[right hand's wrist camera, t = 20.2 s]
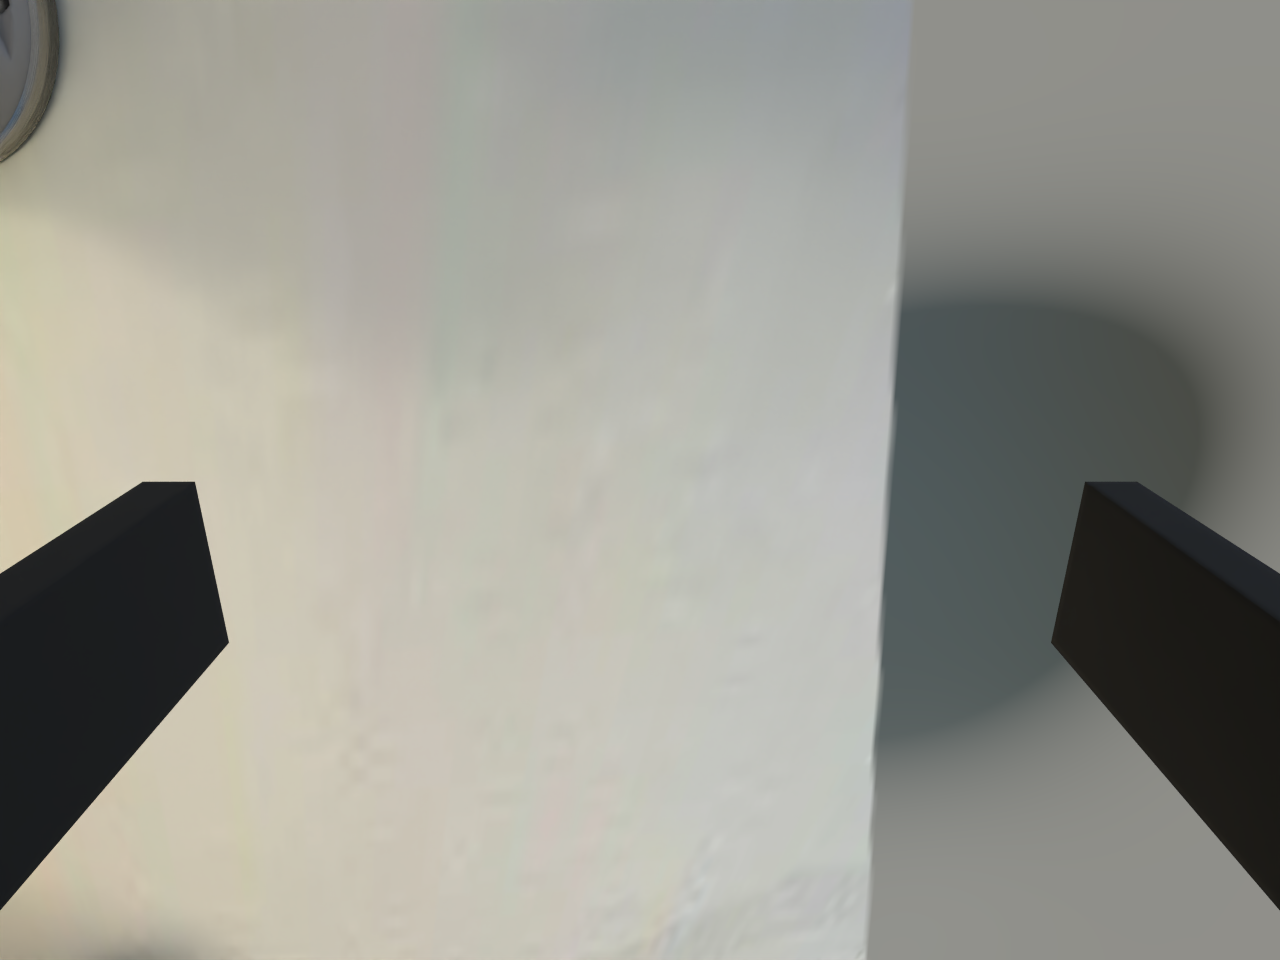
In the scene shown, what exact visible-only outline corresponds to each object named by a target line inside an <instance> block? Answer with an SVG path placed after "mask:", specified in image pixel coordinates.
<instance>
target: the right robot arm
mask: <svg viewBox="0 0 1280 960" xmlns="http://www.w3.org/2000/svg"><path fill="white" fill-rule="evenodd" d="M58 54H59V27H58V18H57V9H56V4H55V0H0V161H2V160H4V159H5V158H6V157H8V156H9V155H10V154H11V153H13V152H14V151H15V150H16V149H17V148H18V147H19V146H20V145H21V144H22V143H23V142H24V141H25V140H26V139H27V138H28V137H29V135H30V134H31V133H32V131H33V130H34V129H35V127H36V126H37V124H38V122H39V120H40V119H41V117H42V115H43V113H44V111H45V109H46V106H47V104H48V102H49V99H50V96H51V93H52V89H53V86H54V83H55V77H56V71H57V66H58ZM228 643H229V641H228V636H227V631H226V627H225V622H224V617H223V612H222V608H221V603H220V598H219V594H218V589H217V584H216V579H215V575H214V570H213V565H212V560H211V556H210V551H209V546H208V542H207V537H206V532H205V527H204V523H203V518H202V513H201V509H200V504H199V499H198V494H197V490H196V485H195V482H142V483H140V484H139V485H137V486H136V487H134V488H133V489H131V490H129V491H128V492H126V493H125V494H123V495H122V496H120V497H119V498H117V499H115V500H114V501H112V502H111V503H109V504H108V505H106V506H105V507H103V508H102V509H100V510H98V511H97V512H95V513H94V514H92V515H91V516H89V517H88V518H86V519H84V520H83V521H81V522H80V523H78V524H77V525H75V526H74V527H72V528H70V529H69V530H67V531H66V532H64V533H63V534H61V535H60V536H58V537H57V538H55V539H53V540H52V541H50V542H49V543H47V544H46V545H44V546H43V547H41V548H39V549H38V550H36V551H35V552H33V553H32V554H30V555H29V556H27V557H25V558H24V559H22V560H21V561H19V562H18V563H16V564H15V565H13V566H12V567H10V568H8V569H7V570H5V571H4V572H2V573H1V574H0V910H1V909H2V908H3V906H4V905H5V904H6V903H7V902H8V901H9V899H10V898H11V897H12V896H13V895H14V894H15V892H16V891H17V890H18V889H19V888H20V887H21V885H22V884H23V883H24V882H25V881H26V880H27V878H28V877H29V876H30V875H31V874H32V873H33V871H34V870H35V869H36V868H37V867H38V865H39V864H40V863H41V862H42V861H43V860H44V858H45V857H46V856H47V855H48V854H49V853H50V851H51V850H52V849H53V848H54V847H55V846H56V844H57V843H58V842H59V841H60V840H61V839H62V837H63V836H64V835H65V834H66V833H67V832H68V830H69V829H70V828H71V827H72V826H73V825H74V823H75V822H76V821H77V820H78V819H79V818H80V816H81V815H82V814H83V813H84V812H85V810H86V809H87V808H88V807H89V806H90V805H91V803H92V802H93V801H94V800H95V799H96V798H97V796H98V795H99V794H100V793H101V792H102V791H103V789H104V788H105V787H106V786H107V785H108V784H109V782H110V781H111V780H112V779H113V778H114V777H115V775H116V774H117V773H118V772H119V771H120V770H121V768H122V767H123V766H124V765H125V764H126V763H127V761H128V760H129V759H130V758H131V757H132V755H133V754H134V753H135V752H136V751H137V750H138V748H139V747H140V746H141V745H142V744H143V743H144V741H145V740H146V739H147V738H148V737H149V736H150V734H151V733H152V732H153V731H154V730H155V729H156V727H157V726H158V725H159V724H160V723H161V722H162V720H163V719H164V718H165V717H166V716H167V715H168V713H169V712H170V711H171V710H172V709H173V707H174V706H175V705H176V704H177V703H178V702H179V700H180V699H181V698H182V697H183V696H184V695H185V693H186V692H187V691H188V690H189V689H190V688H191V686H192V685H193V684H194V683H195V682H196V681H197V679H198V678H199V677H200V676H201V675H202V674H203V672H204V671H205V670H206V669H207V668H208V667H209V665H210V664H211V663H212V662H213V661H214V660H215V658H216V657H217V656H218V655H219V654H220V652H221V651H222V650H223V649H224V648H225V647H226V645H227V644H228ZM1051 643H1052V644H1053V645H1054V647H1055V648H1056V649H1057V650H1058V651H1059V652H1060V654H1061V655H1062V656H1063V657H1064V658H1065V659H1066V661H1067V662H1068V663H1069V664H1070V665H1071V667H1072V668H1073V669H1074V670H1075V671H1076V672H1077V674H1078V675H1079V676H1080V677H1081V678H1082V679H1083V681H1084V682H1085V683H1086V684H1087V685H1088V686H1089V687H1090V689H1091V690H1092V691H1093V692H1094V693H1095V695H1096V696H1097V697H1098V698H1099V699H1100V700H1101V702H1102V703H1103V704H1104V705H1105V706H1106V707H1107V709H1108V710H1109V711H1110V712H1111V713H1112V714H1113V716H1114V717H1115V718H1116V719H1117V720H1118V722H1119V723H1120V724H1121V725H1122V726H1123V727H1124V729H1125V730H1126V731H1127V732H1128V733H1129V734H1130V736H1131V737H1132V738H1133V739H1134V740H1135V741H1136V743H1137V744H1138V745H1139V746H1140V747H1141V748H1142V750H1143V751H1144V752H1145V753H1146V754H1147V755H1148V757H1149V758H1150V759H1151V760H1152V761H1153V763H1154V764H1155V765H1156V766H1157V767H1158V768H1159V770H1160V771H1161V772H1162V773H1163V774H1164V775H1165V777H1166V778H1167V779H1168V780H1169V781H1170V782H1171V784H1172V785H1173V786H1174V787H1175V788H1176V789H1177V791H1178V792H1179V793H1180V794H1181V795H1182V796H1183V798H1184V799H1185V800H1186V801H1187V802H1188V803H1189V805H1190V806H1191V807H1192V808H1193V809H1194V810H1195V812H1196V813H1197V814H1198V815H1199V816H1200V818H1201V819H1202V820H1203V821H1204V822H1205V823H1206V824H1207V826H1208V827H1209V828H1210V829H1211V830H1212V832H1213V833H1214V834H1215V835H1216V836H1217V837H1218V839H1219V840H1220V841H1221V842H1222V843H1223V844H1224V846H1225V847H1226V848H1227V849H1228V850H1229V851H1230V853H1231V854H1232V855H1233V856H1234V857H1235V858H1236V860H1237V861H1238V862H1239V863H1240V864H1241V865H1242V867H1243V868H1244V869H1245V870H1246V871H1247V873H1248V874H1249V875H1250V876H1251V877H1252V878H1253V880H1254V881H1255V882H1256V883H1257V884H1258V885H1259V887H1260V888H1261V889H1262V890H1263V891H1264V892H1265V894H1266V895H1267V896H1268V897H1269V898H1270V899H1271V901H1272V902H1273V903H1274V904H1275V905H1276V906H1277V908H1278V909H1279V910H1280V574H1279V573H1278V572H1276V571H1275V570H1273V569H1272V568H1270V567H1268V566H1267V565H1265V564H1264V563H1262V562H1261V561H1259V560H1258V559H1256V558H1255V557H1253V556H1251V555H1250V554H1248V553H1247V552H1245V551H1244V550H1242V549H1241V548H1239V547H1237V546H1236V545H1234V544H1233V543H1231V542H1230V541H1228V540H1227V539H1225V538H1223V537H1222V536H1220V535H1219V534H1217V533H1216V532H1214V531H1213V530H1211V529H1209V528H1208V527H1206V526H1205V525H1203V524H1202V523H1200V522H1199V521H1197V520H1195V519H1194V518H1192V517H1191V516H1189V515H1188V514H1186V513H1185V512H1183V511H1182V510H1180V509H1178V508H1177V507H1175V506H1174V505H1172V504H1171V503H1169V502H1168V501H1166V500H1165V499H1163V498H1161V497H1160V496H1158V495H1157V494H1155V493H1154V492H1152V491H1151V490H1149V489H1147V488H1146V487H1144V486H1143V485H1141V484H1140V483H1138V482H1085V485H1084V490H1083V494H1082V499H1081V504H1080V509H1079V513H1078V518H1077V523H1076V528H1075V532H1074V537H1073V542H1072V546H1071V551H1070V556H1069V560H1068V565H1067V570H1066V575H1065V580H1064V584H1063V589H1062V594H1061V599H1060V603H1059V608H1058V612H1057V617H1056V622H1055V627H1054V632H1053V636H1052V641H1051Z"/></svg>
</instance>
